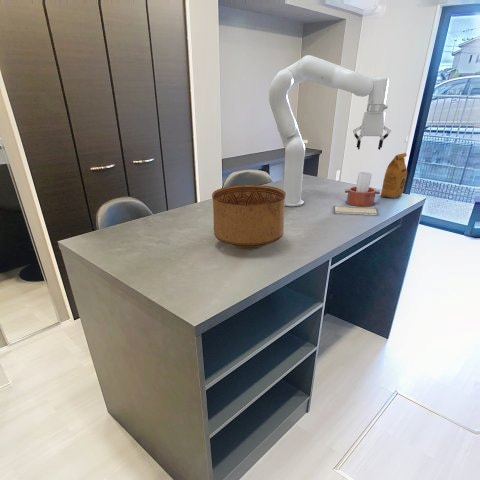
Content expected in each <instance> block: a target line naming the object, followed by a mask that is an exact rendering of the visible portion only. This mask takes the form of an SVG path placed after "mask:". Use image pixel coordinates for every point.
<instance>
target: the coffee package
mask: <svg viewBox="0 0 480 480" xmlns="http://www.w3.org/2000/svg"><path fill="white" fill-rule="evenodd" d="M405 157H407V153H406V152H403V153H398V154H396V155H394V157H393V158H392V160H391V161H390V162H389V164H388V165H387V167H386V170H385V173H384V177H383V182H382V186H381V187H382V188H381V191H380V197H381V198H391V199H395V198H396V197H400V196H402V195H403V194H404V190H405V185H406V181H407V177H408V168H407V165H406V162H405V161H406V160H405Z"/></svg>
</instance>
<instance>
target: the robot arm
mask: <svg viewBox="0 0 480 480" xmlns="http://www.w3.org/2000/svg"><path fill="white" fill-rule="evenodd" d="M306 80H307V81H308V80H309V81H312V82H315V83H316V84H317V83H318V84H319V85H323V86H326V87H328V88H332V89H337V90H342V91H345V92H348V93H350V94H353V95H355V96H356V97H362V98H363V97H367V96H368V99H367V105H366V111H364V113H363V117H362V121H361V125H360V126H358V127H356V128H354V129H353V130H352V133H353V136H354V138H355V139H356V148H357V150H360V149H361V143H362V142H361V141H362V138H363V137H379V138H380V139H379V142H378V147H377V150H379V151H380V150H381V148H383V143H384V140H386V139H387V138H388V137H389V135H390V133H391V132H392V129H390V128H388V127H387V126H385V120H386V119H385V117H386V112H385V110H388V107H389V105H386V100H387V94H388V87H389V82H390V79H389V77H388V76H387V75H386V76H384V75H383V76H382V75H379V76H373V77H370V76H368V75H366V74H363V73H360V72H358V71H355V70H352V69H349V68H346V67H343V66H342V65H339V64H337V63H334V62H330V61H328V60H325V59H323V58H320V57H316V56H314V55H312V54H311V55H310V54H307V55H303V56H302V57H301V58H300V59H298V60H297V61H295V62H294V63H293V64H291V65H289V66H287V67H285V68H283V69H281V70H279V71H278V72H277V73H276V75H275V76H274V77H273V79H272V81H271V83H270V85H269V90H268V101H269V105H270V109H271V112H272V115H273V118H274V121H275V123H276V127H277V128H276V129H277V131H278V133H279V136H280V138H281V141H282V144H283V147H284V152H285V153H284V169H283V171H284V172H283V189H282V190H283V191H284V192H285V193H286V197H285V205H284V207H299V206H300V207H301V206H303V205H304V200H302V189H303V188H302V187H303V178H304V177H303V175H304V164H305V154H306V145H305V143H304V140H303V138H302V135H301V132H300V129H299V126H298V124H297V120H296V117H295V115H294V114H293V111H292V107H291V104H290V101H289V98H288V93H289V91H290V90H291V89H292V88H294V87H295V86H297V85H299V84H301V83H304V82H305V81H306ZM358 131H360V134H359V135H358V133H357V132H358ZM384 131H385V132H386V133H385V134H384V135H383V133H384Z"/></svg>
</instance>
